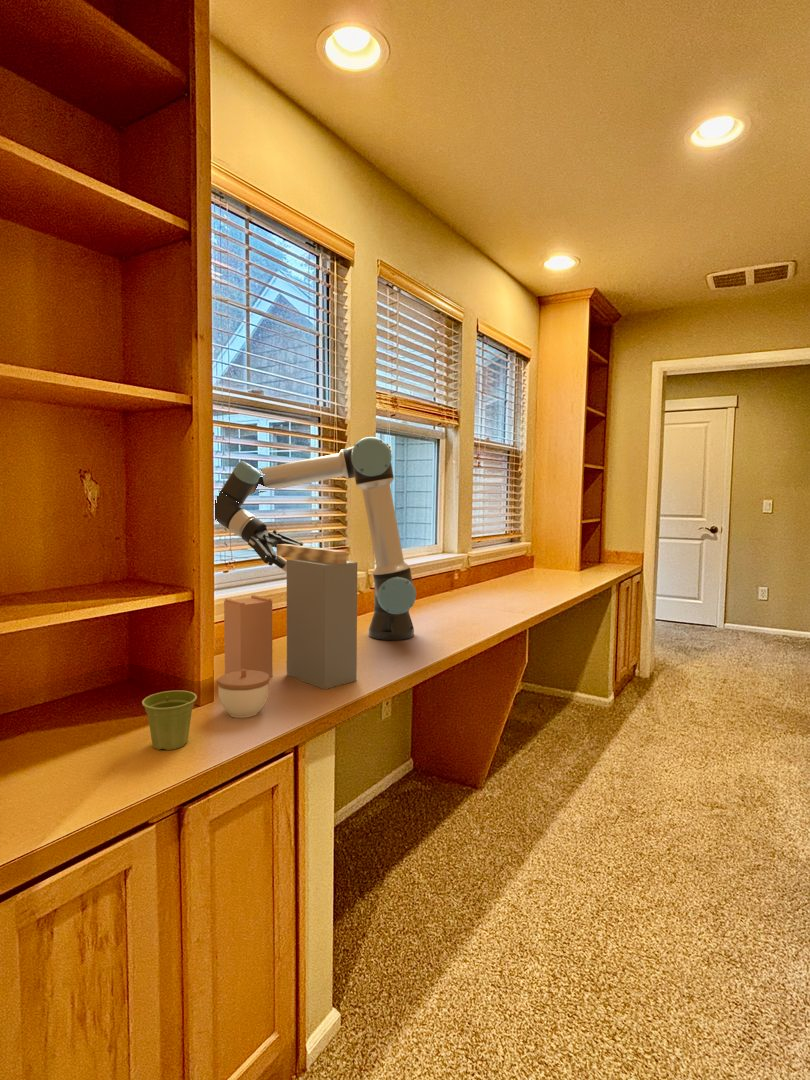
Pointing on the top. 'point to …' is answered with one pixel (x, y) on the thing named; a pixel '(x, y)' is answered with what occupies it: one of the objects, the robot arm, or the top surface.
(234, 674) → the lidded jar
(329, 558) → the birch batten
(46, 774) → the top surface
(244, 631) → the tall salmon pillar
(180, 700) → the plant pot
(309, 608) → the slate riser
